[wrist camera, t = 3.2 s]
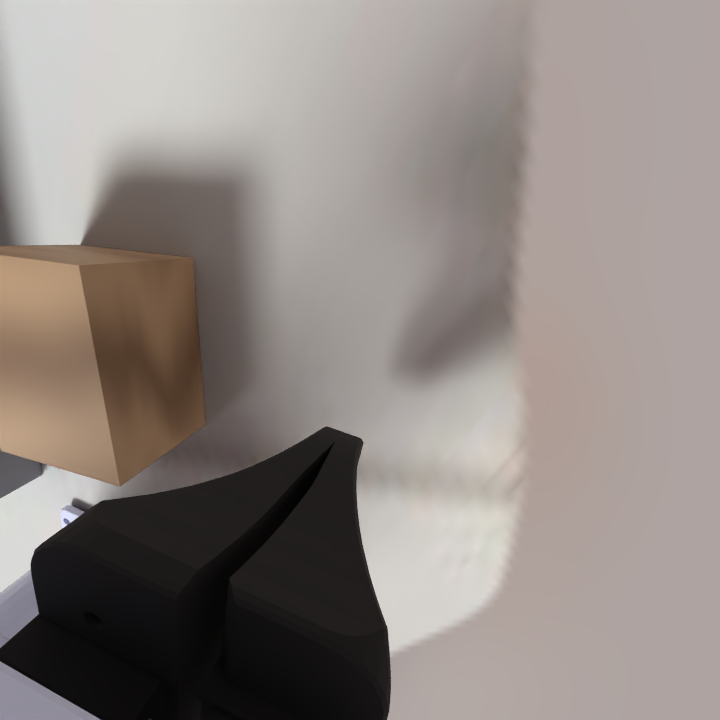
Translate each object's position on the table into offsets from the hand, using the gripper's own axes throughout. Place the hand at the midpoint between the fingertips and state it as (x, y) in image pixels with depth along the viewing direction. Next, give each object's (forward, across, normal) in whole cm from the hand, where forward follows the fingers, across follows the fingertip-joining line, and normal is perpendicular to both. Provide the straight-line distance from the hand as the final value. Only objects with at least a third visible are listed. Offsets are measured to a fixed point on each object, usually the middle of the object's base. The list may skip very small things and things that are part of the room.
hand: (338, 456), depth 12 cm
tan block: (+4, +11, 0) cm, 12 cm away
